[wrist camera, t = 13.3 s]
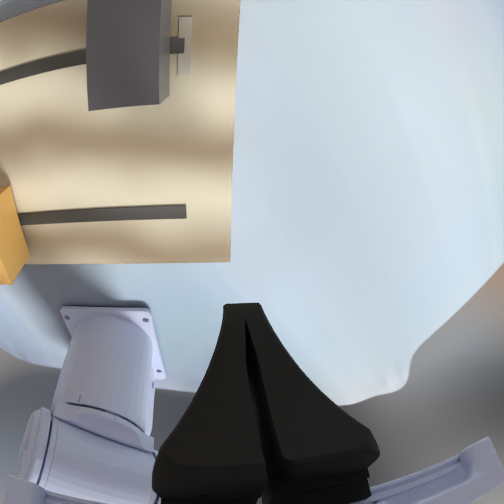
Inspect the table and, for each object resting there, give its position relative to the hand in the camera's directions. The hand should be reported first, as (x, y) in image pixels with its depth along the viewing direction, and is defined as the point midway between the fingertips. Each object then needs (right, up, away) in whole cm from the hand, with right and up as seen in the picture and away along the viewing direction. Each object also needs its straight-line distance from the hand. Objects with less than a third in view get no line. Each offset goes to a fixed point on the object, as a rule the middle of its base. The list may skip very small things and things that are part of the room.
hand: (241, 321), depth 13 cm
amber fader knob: (-15, +5, +3) cm, 16 cm away
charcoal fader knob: (-5, +12, 0) cm, 13 cm away
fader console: (-14, +10, +3) cm, 17 cm away
